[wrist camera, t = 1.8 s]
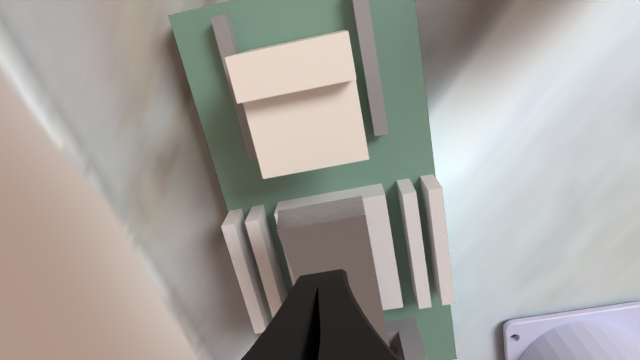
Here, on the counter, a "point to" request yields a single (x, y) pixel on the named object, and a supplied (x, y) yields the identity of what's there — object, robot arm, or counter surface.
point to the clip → (301, 103)
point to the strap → (335, 249)
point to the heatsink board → (336, 181)
